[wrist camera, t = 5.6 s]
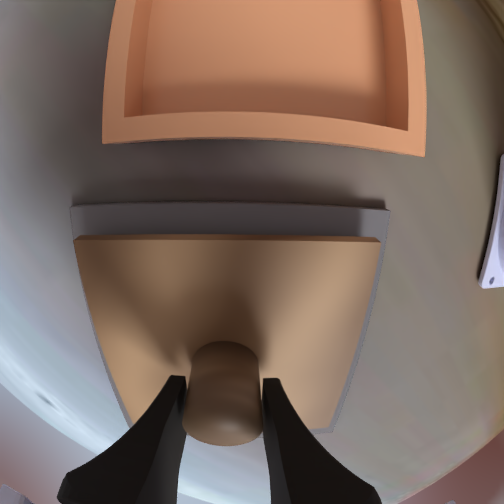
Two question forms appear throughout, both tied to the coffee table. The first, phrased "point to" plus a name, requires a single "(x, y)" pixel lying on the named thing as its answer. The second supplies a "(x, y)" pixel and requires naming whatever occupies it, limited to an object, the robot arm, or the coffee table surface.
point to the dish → (267, 73)
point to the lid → (228, 321)
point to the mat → (240, 223)
